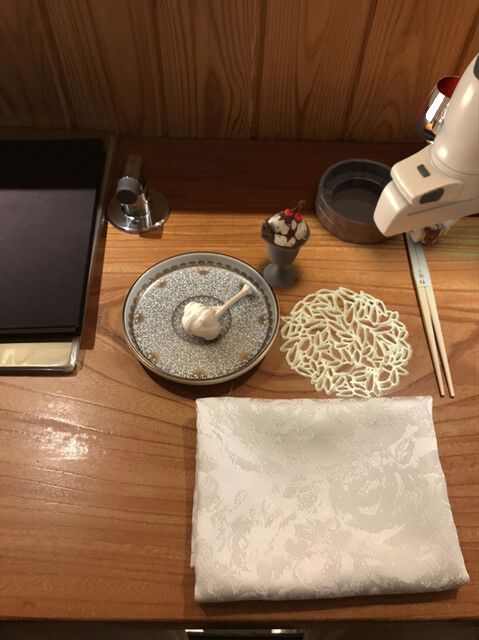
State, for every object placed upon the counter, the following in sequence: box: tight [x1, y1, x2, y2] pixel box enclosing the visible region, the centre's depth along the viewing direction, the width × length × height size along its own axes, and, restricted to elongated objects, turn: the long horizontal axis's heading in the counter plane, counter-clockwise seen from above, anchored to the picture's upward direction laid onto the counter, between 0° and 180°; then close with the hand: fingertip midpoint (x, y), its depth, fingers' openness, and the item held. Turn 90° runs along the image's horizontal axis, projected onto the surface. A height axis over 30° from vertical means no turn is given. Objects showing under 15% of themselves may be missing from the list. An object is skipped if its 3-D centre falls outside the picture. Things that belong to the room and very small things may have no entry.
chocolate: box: [419, 225, 439, 245], centre depth 87 cm, size 3×2×4 cm
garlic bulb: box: [181, 283, 254, 341], centre depth 79 cm, size 7×5×12 cm
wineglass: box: [414, 75, 462, 146], centre depth 89 cm, size 8×8×18 cm
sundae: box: [260, 200, 311, 289], centre depth 78 cm, size 7×7×15 cm
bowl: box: [314, 158, 393, 244], centre depth 90 cm, size 14×14×5 cm
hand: (427, 235), depth 87 cm, fingers closed on chocolate, 2 cm apart
